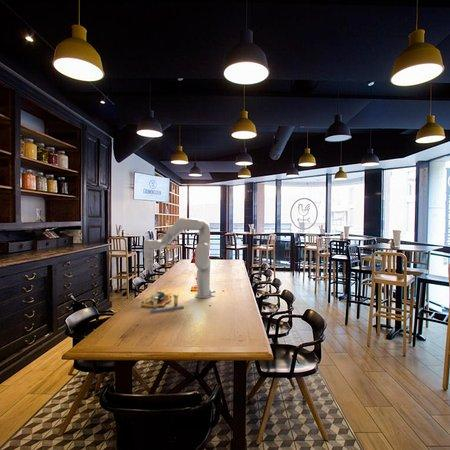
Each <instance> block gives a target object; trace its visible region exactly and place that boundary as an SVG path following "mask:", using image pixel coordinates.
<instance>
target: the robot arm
mask: <svg viewBox="0 0 450 450" xmlns="http://www.w3.org/2000/svg"><path fill="white" fill-rule="evenodd" d="M210 228H211V227H210V226H209V224H208V222H207V221H205V220H204V219H201V218H185V217H180V218H177V219H176V221H175V223H174V224H173V225H171V226H170V227H169V228H168V229H167V230H166V231H167V232H166V233H165V234H164V235H162V237H160V238H159V239H145V240H143V258H144V262H143V263H144V269H145V279H146V280H150V279H151V273H152V271H154V255H155V254H154V251H155V250H157V251H158V250H159V251H160V250H162V249H164V248H165V247H166V246H168V245H169V244H170V243H171V242H172V241H173V240H175V238H176V237H178V236H179V235H180V234H181V233H182V232H184V231H185V230H187V231H198V243H197V245H196V247H195V259H194V260H195V261H194V262H195V264H194V265H195V267H196V269H197V272H196V273H197V275H196V276H197V278H196V279H197V283H196V285H197V287H196V288H197V289H196V291H197V292H196V293H195V297H196V298H198V299H208V298H211V297H212V296H213V294H216V290H215V289H214V290H213V289H212V290H211V288H210V287H211V286H210V285H211V282H210V281H211V276H210V275H211V273H210V271H211V258H209V251H210V250H211V229H210Z"/></svg>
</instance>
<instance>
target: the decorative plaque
mask: <svg viewBox="0 0 450 450" xmlns="http://www.w3.org/2000/svg"><path fill="white" fill-rule="evenodd" d="M153 297H158V299H157V309H159V308H166V304H167V305H169V304H171V303H170V302H172V295H171V294H165V293H164V292H163V291H157V292H156V293H154V294H151V295H150V296H149V297H146V298H144V299H143V300H142V302H141V303H142V304H141V305H140V308H144V309H145V308H146V309H153V299H152V298H153Z"/></svg>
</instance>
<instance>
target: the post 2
mask: <svg viewBox="0 0 450 450" xmlns="http://www.w3.org/2000/svg"><path fill="white" fill-rule="evenodd" d="M172 296H173V306H179V304H178V303H179V302H178V301H179V300H178V299H179V298H178V297H179V296H180V295H179V294H176V293H175V294H173V295H172Z"/></svg>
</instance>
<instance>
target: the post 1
mask: <svg viewBox="0 0 450 450" xmlns="http://www.w3.org/2000/svg"><path fill="white" fill-rule="evenodd" d="M152 299H153V308H152V309H158V308H157V299H158V297H153V298H152Z"/></svg>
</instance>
